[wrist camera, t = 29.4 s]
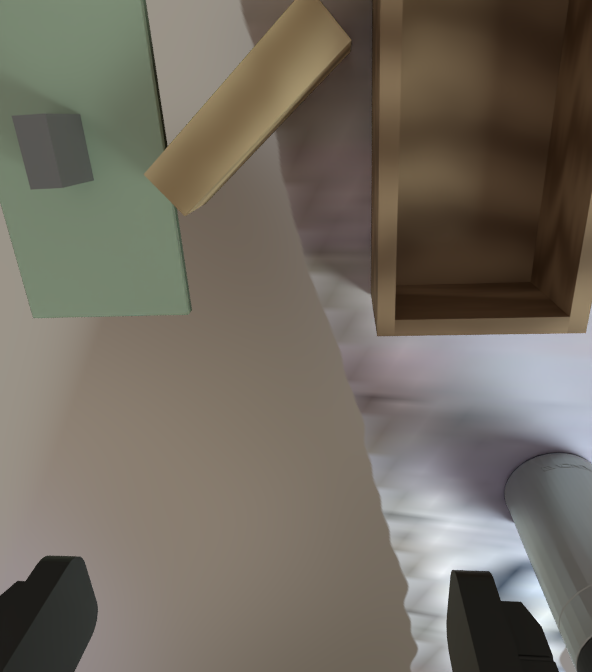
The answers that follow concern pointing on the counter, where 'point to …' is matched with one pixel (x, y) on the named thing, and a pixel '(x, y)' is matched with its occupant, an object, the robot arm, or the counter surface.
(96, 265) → the lid
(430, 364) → the counter surface
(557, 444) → the counter surface
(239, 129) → the tan block
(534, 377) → the counter surface
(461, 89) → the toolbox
